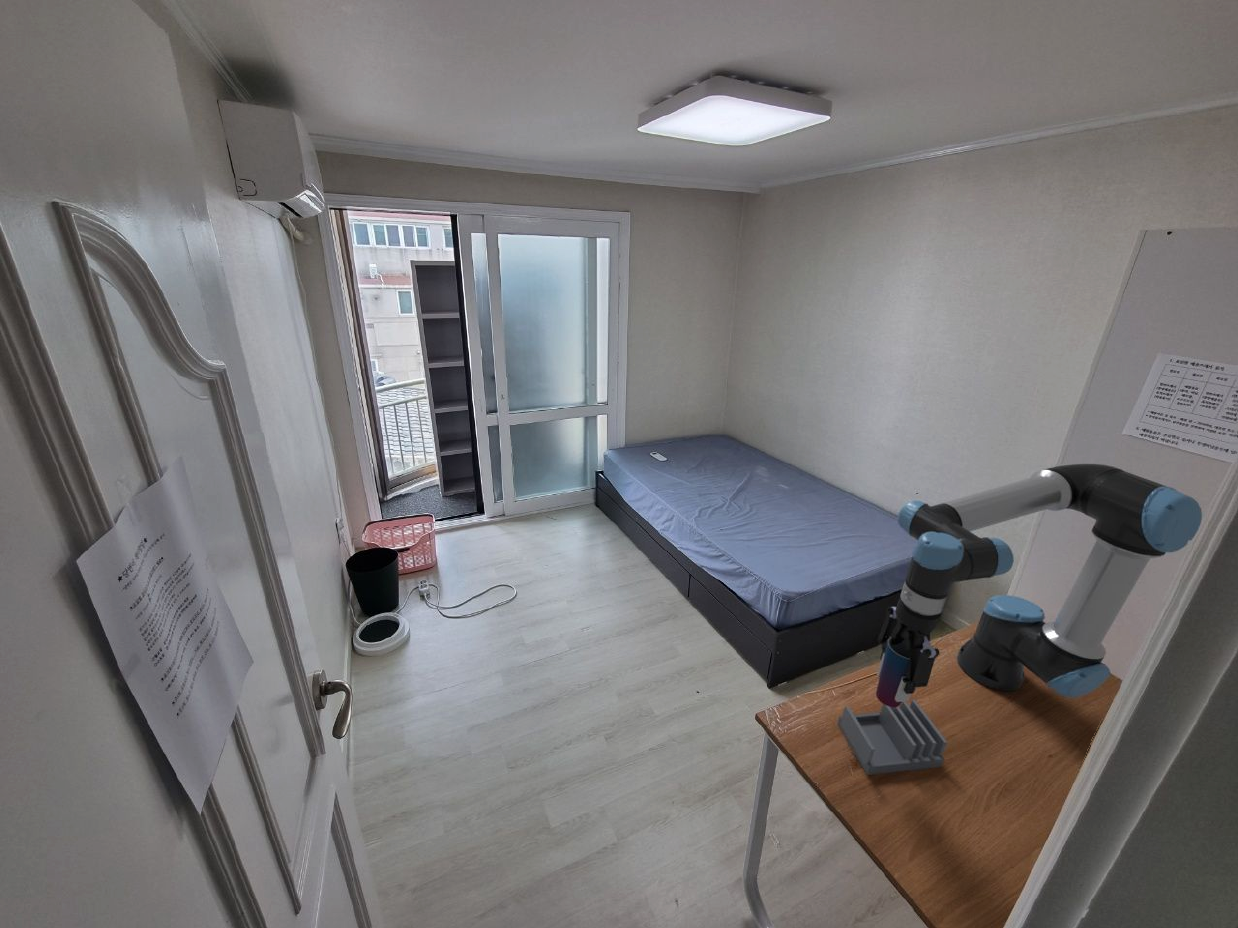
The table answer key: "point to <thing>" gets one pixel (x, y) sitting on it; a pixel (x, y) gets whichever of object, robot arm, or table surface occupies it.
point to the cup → (892, 673)
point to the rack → (893, 739)
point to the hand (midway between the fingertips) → (892, 686)
